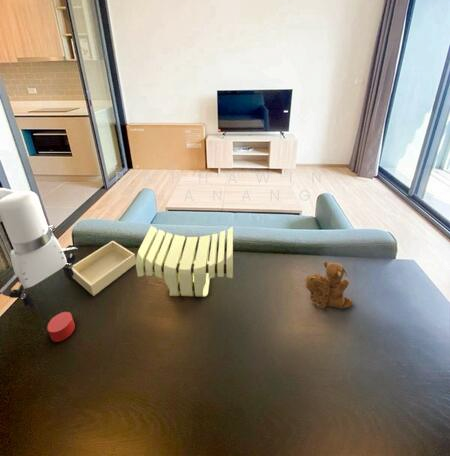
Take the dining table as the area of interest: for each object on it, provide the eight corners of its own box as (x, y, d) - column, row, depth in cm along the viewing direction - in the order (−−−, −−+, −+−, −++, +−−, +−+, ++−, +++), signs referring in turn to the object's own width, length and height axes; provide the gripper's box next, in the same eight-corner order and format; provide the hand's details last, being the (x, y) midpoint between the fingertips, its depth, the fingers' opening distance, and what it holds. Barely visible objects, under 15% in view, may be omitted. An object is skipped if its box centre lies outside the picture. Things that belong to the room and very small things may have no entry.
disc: (47, 334, 71) (43, 324, 70) (68, 317, 76) (65, 308, 74) (56, 346, 68) (53, 336, 66) (78, 328, 72) (75, 318, 71)
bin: (72, 277, 90) (69, 267, 88) (114, 249, 104) (112, 240, 102) (93, 296, 83) (90, 286, 81) (136, 263, 96) (134, 254, 94)
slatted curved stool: (142, 300, 81) (134, 258, 74) (156, 263, 96) (151, 225, 89) (232, 302, 80) (232, 259, 73) (232, 264, 94) (232, 226, 88)
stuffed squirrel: (354, 305, 78) (362, 273, 74) (318, 320, 74) (324, 287, 69) (332, 280, 87) (337, 251, 82) (298, 293, 82) (302, 262, 78)
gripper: (62, 217, 69) (76, 264, 75) (-19, 255, 56) (6, 309, 62) (75, 226, 65) (89, 275, 71) (-8, 269, 52) (18, 325, 58)
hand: (51, 290), depth 66 cm, fingers open, 9 cm apart
